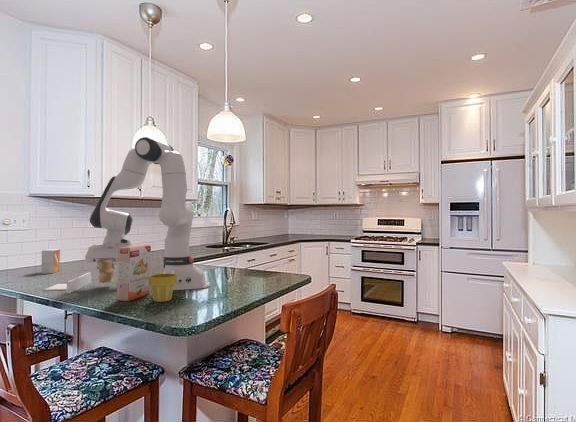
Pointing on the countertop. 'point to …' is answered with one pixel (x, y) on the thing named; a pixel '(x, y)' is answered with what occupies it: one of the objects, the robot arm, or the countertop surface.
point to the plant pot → (162, 286)
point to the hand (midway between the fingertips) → (105, 268)
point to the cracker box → (133, 272)
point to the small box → (50, 261)
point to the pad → (57, 287)
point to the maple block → (106, 271)
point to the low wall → (78, 282)
